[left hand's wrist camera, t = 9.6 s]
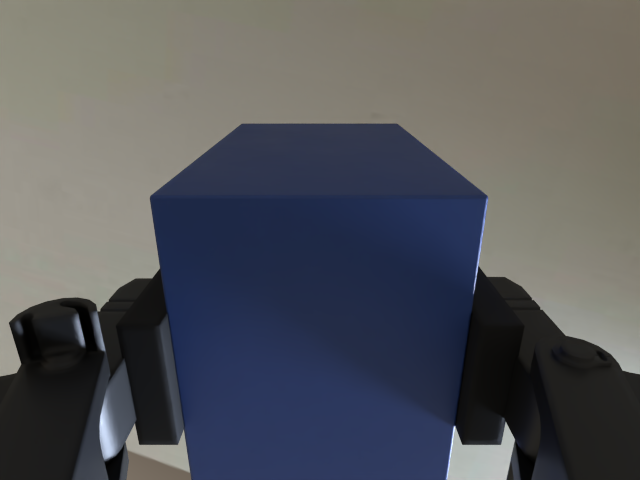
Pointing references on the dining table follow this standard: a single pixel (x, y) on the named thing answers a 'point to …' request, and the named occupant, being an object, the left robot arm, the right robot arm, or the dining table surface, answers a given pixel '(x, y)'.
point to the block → (319, 302)
